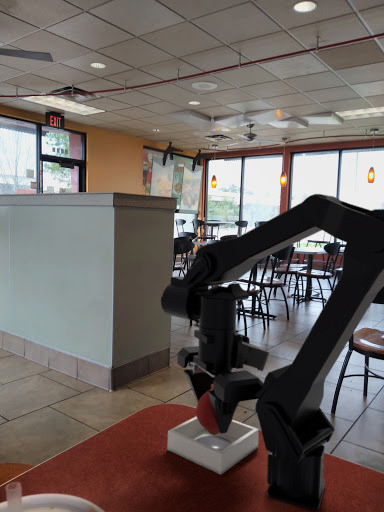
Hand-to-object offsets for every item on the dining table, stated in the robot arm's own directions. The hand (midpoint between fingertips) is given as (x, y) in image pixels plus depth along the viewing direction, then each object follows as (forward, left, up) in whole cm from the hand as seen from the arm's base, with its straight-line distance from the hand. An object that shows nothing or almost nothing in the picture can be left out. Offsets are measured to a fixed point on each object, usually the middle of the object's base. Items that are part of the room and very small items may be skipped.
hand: (214, 424), depth 66 cm
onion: (0, 0, -2) cm, 2 cm away
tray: (0, 0, -4) cm, 4 cm away
